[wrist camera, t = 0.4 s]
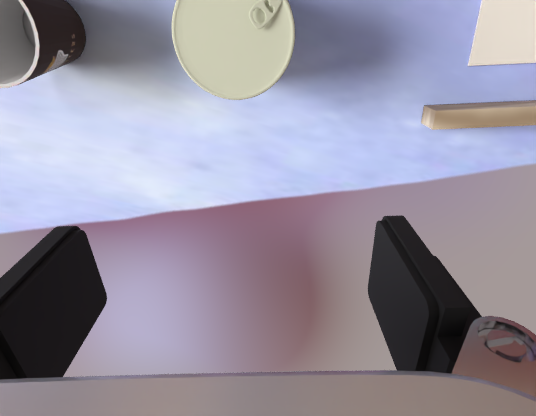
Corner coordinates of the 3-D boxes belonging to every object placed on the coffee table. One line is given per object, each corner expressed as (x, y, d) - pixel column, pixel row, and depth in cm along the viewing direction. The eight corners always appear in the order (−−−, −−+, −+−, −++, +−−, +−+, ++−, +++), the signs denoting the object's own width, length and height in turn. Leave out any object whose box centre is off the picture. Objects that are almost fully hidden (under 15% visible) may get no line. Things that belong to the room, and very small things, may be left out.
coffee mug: (68, -33, 32) (-7, -58, 23) (111, 61, 36) (60, 71, 27) (-35, 5, 34) (-143, -5, 25) (17, 91, 38) (-61, 110, 29)
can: (304, 45, 35) (320, 50, 25) (237, 99, 38) (225, 125, 27) (250, -42, 32) (242, -78, 21) (180, 24, 35) (141, 21, 24)
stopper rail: (424, 105, 38) (435, 110, 36) (603, 97, 38) (628, 102, 35) (421, 123, 39) (432, 129, 37) (595, 115, 39) (619, 121, 36)
